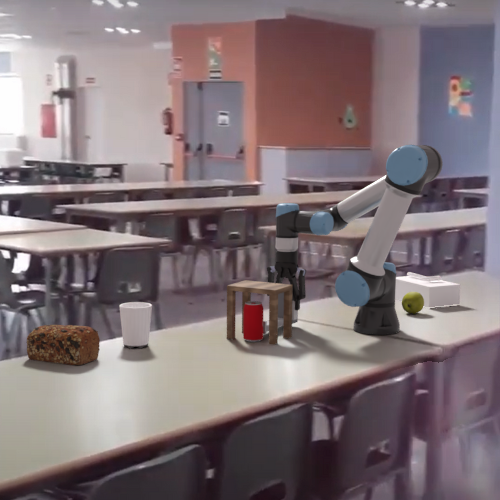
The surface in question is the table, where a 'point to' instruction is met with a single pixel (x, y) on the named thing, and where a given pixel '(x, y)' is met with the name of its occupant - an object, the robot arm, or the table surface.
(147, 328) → the cup
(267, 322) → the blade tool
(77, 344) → the bread
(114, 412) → the table surface
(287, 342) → the table surface
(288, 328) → the small wooden table
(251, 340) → the beverage can
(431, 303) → the tissue box
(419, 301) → the apple
